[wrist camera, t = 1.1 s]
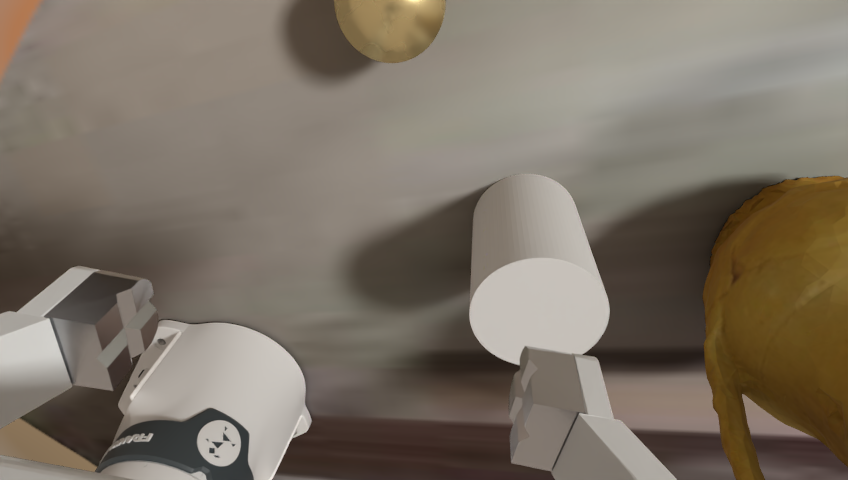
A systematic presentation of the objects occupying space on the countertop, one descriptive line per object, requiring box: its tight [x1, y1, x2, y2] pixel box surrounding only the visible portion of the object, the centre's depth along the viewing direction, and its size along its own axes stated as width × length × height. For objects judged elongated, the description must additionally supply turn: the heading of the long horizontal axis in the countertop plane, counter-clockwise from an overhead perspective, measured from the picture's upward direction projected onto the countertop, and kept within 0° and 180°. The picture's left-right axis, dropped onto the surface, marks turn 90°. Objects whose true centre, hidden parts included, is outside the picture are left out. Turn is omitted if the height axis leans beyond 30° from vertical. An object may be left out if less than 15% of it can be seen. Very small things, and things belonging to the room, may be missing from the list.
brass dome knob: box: [334, 0, 446, 63], centre depth 31 cm, size 6×6×6 cm
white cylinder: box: [469, 174, 610, 365], centre depth 35 cm, size 8×8×12 cm
